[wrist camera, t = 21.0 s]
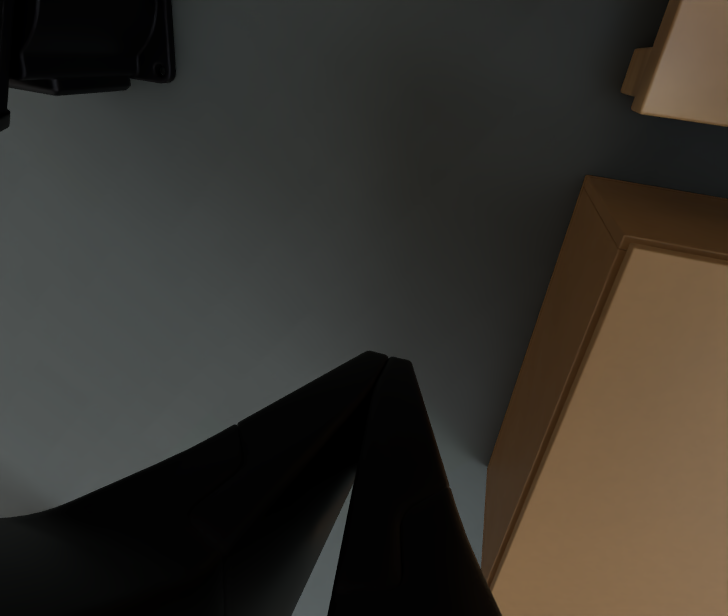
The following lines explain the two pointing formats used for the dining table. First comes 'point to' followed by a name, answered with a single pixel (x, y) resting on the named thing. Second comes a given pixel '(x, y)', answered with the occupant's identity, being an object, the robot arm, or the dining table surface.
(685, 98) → the stool
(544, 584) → the flap
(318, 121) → the dining table surface
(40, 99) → the dining table surface
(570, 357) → the cardboard box
